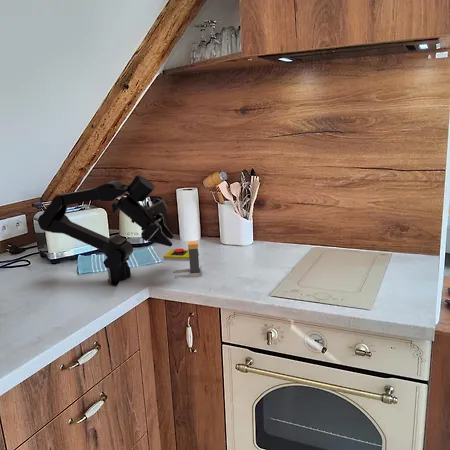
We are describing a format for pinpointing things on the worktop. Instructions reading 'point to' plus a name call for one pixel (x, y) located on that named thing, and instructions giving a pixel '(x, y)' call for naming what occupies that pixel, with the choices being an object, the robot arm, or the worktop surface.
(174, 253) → the emergency button
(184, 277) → the breaker panel
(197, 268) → the toggle
